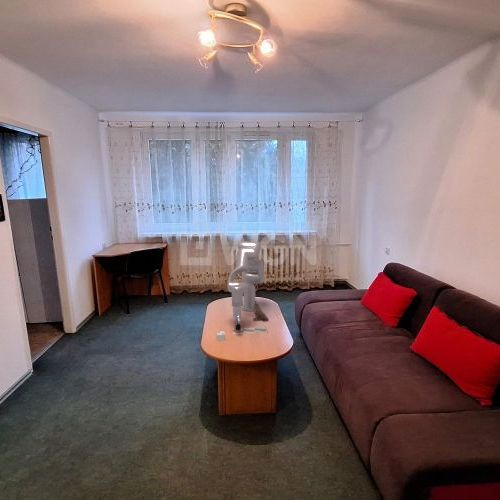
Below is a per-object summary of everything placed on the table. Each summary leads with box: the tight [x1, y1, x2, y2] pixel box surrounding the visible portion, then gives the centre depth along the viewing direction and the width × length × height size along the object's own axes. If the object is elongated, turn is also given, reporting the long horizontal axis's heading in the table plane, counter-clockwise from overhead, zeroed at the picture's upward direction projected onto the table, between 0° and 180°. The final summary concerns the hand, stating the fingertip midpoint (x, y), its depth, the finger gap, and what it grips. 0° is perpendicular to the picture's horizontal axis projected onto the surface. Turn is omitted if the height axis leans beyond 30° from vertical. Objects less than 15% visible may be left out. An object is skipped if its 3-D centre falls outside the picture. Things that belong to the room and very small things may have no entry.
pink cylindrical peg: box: [233, 320, 242, 333], centre depth 221 cm, size 4×4×12 cm
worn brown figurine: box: [252, 299, 269, 323], centre depth 240 cm, size 12×6×18 cm, turn 94°
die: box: [216, 330, 226, 342], centre depth 211 cm, size 5×5×5 cm
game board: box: [231, 326, 269, 335], centre depth 224 cm, size 11×25×1 cm, turn 98°
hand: (237, 326), depth 222 cm, fingers open, 9 cm apart
